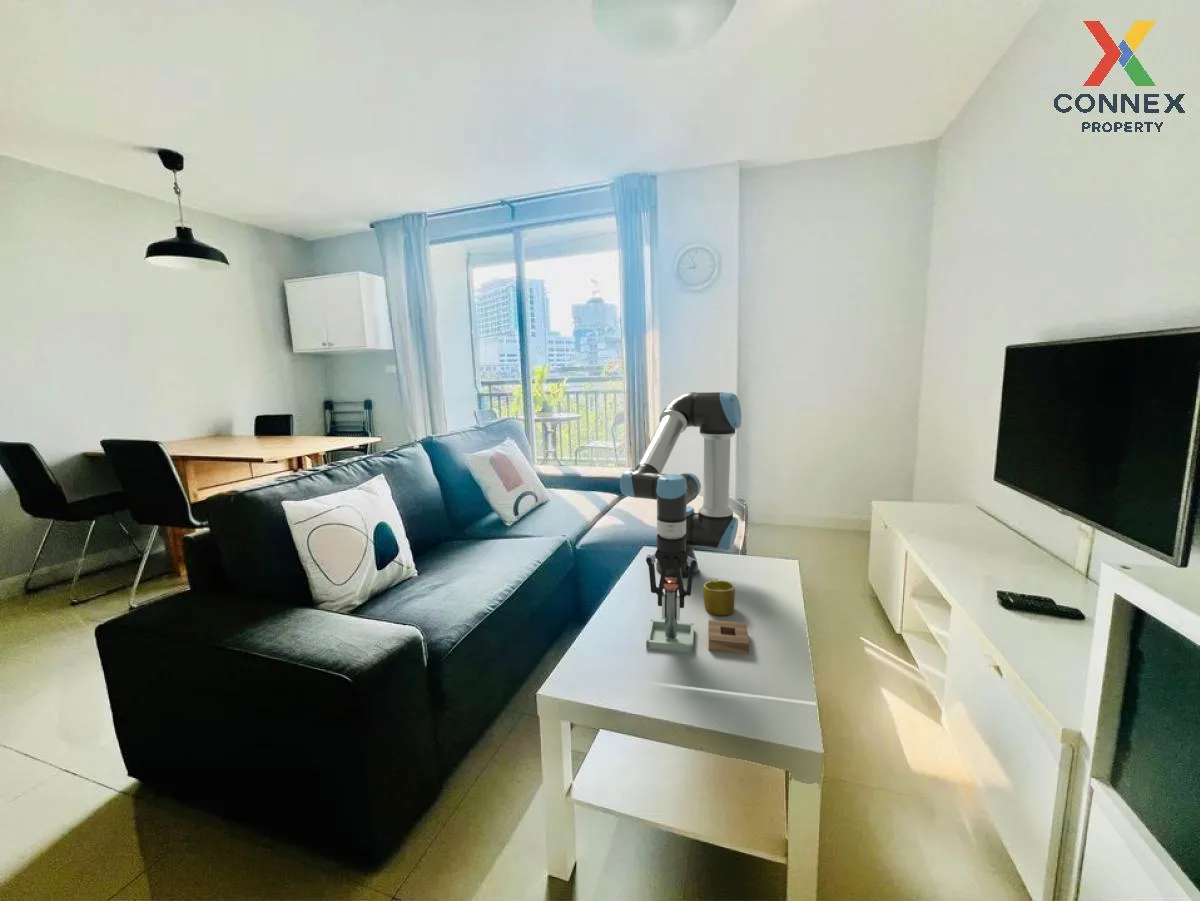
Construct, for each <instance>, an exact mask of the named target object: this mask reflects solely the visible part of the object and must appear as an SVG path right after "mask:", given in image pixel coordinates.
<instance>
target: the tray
mask: <svg viewBox="0 0 1200 901" xmlns="http://www.w3.org/2000/svg"><path fill="white" fill-rule="evenodd" d="M694 630H695V623H691V622H690V623H689V622H681V621H677V636H676V637H675V638H667V637H666V636H665V620H659V619H657V620H656V619H650V622H649V627H648V632H647V636H646V640H645V641H646V642H645V648H646V650H647V651H650V650H652V649H653V650H660V651H671V652H676V653H677V652H678V653H688V654H693V653H694V634H695V633H694V632H695V631H694Z"/></svg>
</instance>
